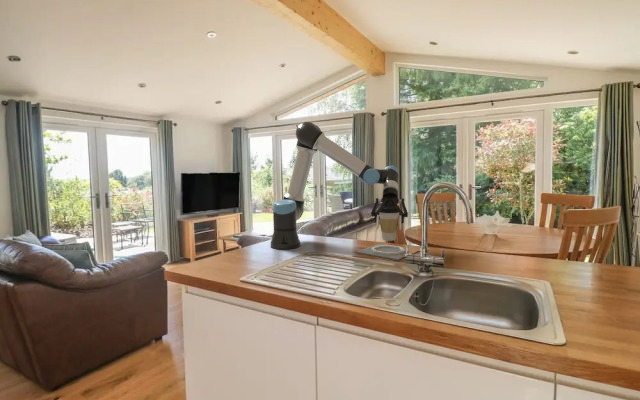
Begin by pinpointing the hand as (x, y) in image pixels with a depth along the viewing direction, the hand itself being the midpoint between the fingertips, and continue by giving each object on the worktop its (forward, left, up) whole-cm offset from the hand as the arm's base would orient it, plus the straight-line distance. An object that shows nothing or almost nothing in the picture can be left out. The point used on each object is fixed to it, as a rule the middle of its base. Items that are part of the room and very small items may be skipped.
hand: (388, 228), depth 162 cm
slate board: (-2, +3, -12) cm, 12 cm away
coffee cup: (-1, +3, -6) cm, 7 cm away
